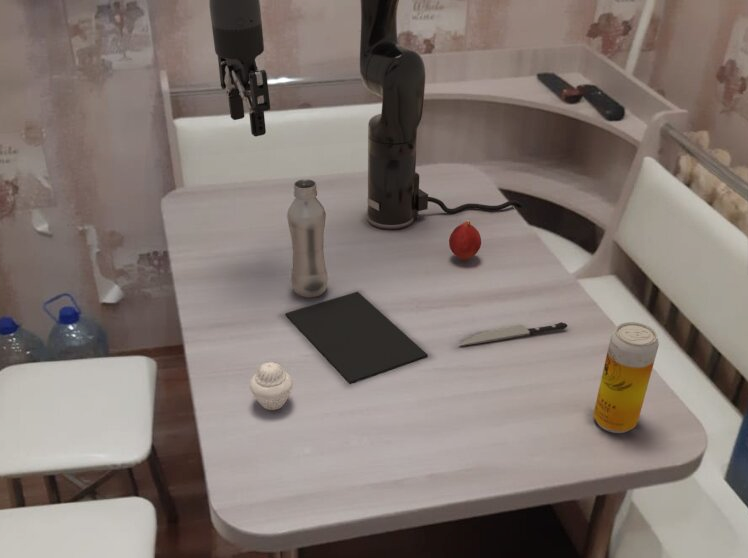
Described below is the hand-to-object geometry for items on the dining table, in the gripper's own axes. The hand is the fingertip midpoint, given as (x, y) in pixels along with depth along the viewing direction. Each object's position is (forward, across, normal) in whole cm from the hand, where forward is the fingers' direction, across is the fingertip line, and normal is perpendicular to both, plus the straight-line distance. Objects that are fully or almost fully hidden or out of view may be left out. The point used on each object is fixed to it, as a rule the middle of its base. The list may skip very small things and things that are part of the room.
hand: (248, 126), depth 134 cm
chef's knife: (+27, -40, -26) cm, 54 cm away
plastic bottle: (+26, -12, -3) cm, 29 cm away
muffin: (+26, -37, +15) cm, 48 cm away
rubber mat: (+26, -28, -4) cm, 38 cm away
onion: (+27, -16, -33) cm, 46 cm away
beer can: (+27, -65, -25) cm, 75 cm away
